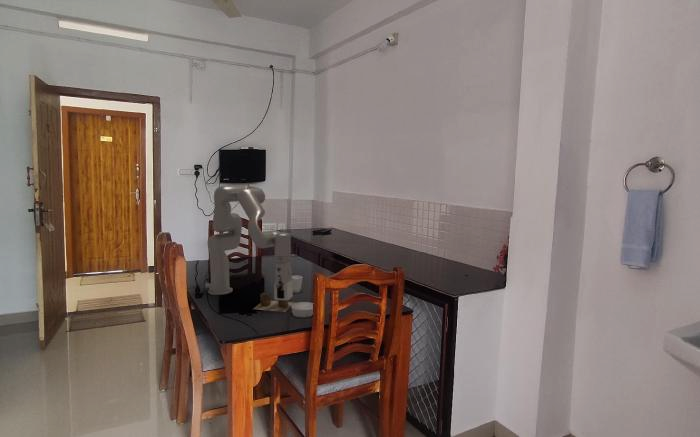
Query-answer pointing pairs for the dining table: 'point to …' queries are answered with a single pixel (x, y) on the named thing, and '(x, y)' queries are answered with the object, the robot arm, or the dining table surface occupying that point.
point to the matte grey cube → (287, 291)
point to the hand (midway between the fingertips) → (283, 295)
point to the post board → (271, 304)
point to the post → (282, 303)
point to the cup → (296, 283)
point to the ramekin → (302, 309)
